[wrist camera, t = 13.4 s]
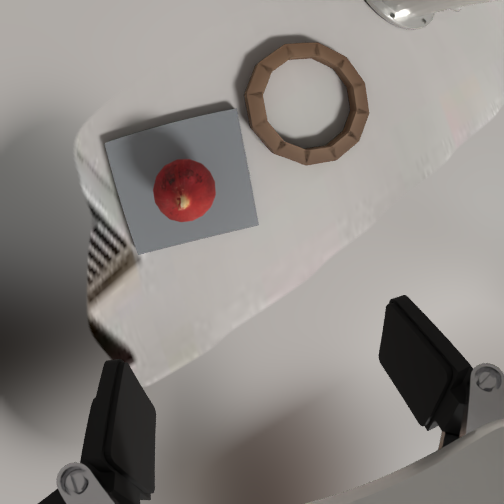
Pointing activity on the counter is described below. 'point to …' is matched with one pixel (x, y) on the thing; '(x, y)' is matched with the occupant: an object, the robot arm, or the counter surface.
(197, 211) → the onion
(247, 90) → the ring holder
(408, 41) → the counter surface
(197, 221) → the board
